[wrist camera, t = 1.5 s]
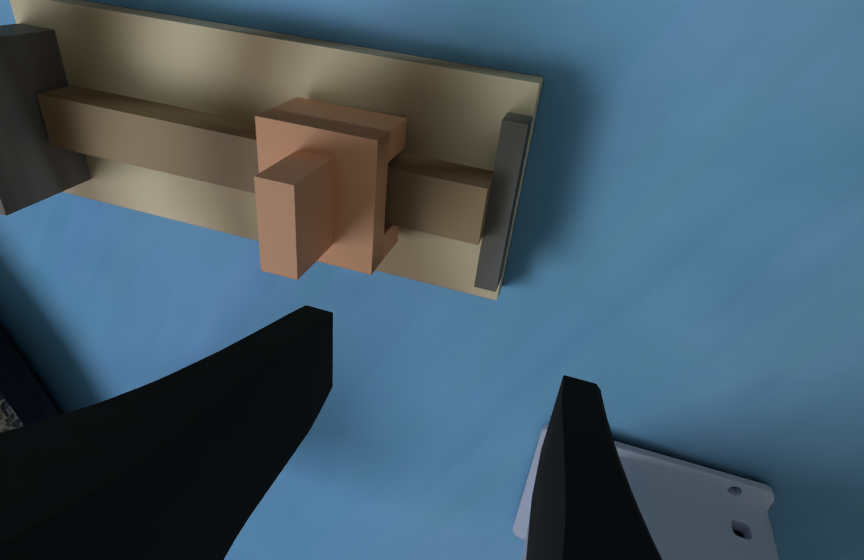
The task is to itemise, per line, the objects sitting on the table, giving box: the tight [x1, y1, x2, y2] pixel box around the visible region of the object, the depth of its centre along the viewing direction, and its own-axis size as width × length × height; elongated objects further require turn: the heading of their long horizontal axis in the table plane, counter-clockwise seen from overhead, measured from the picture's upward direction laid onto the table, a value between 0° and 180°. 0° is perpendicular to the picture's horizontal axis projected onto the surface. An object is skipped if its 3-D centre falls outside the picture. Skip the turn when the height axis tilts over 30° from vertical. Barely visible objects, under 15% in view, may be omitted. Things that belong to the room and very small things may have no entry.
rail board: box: [0, 0, 544, 300], centre depth 20 cm, size 20×8×5 cm, turn 84°
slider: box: [254, 97, 407, 280], centre depth 18 cm, size 4×5×5 cm
